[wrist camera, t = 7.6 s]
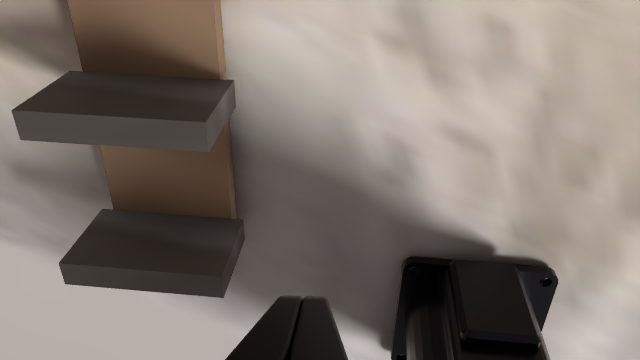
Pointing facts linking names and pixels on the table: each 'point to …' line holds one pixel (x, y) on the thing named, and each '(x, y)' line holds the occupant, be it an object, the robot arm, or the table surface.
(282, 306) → the robot arm
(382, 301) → the table surface
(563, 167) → the table surface
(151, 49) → the wooden frame
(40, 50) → the table surface
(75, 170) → the table surface
